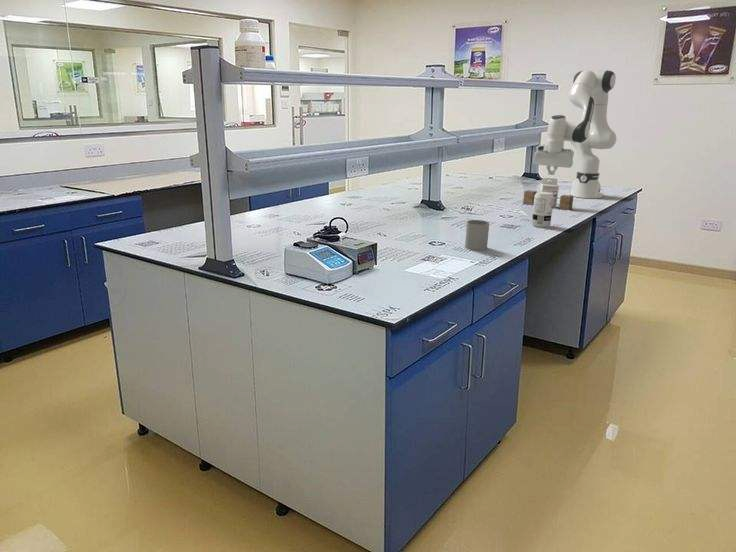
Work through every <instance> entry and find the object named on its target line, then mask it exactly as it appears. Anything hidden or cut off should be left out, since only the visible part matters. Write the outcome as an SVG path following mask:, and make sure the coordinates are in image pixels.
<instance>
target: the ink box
mask: <svg viewBox="0 0 736 552" xmlns="http://www.w3.org/2000/svg"><path fill="white" fill-rule="evenodd" d="M540 183H541V184H540V189H539V192H550V193H553V196H554V200H553V207H552V208H557V203H558V194H559V185H558V178H551V177H550V178H549V177H546V178H545V177H542V178H541V182H540Z"/></svg>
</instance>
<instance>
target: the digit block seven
mask: <svg viewBox="0 0 736 552" xmlns="http://www.w3.org/2000/svg"><path fill="white" fill-rule="evenodd" d="M537 192H538V191H537V190H530V189H527V190H525V191H524V193H523V203H522V204H523V205H527V206H534V197H535V194H536V193H537Z"/></svg>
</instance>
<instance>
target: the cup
mask: <svg viewBox="0 0 736 552" xmlns="http://www.w3.org/2000/svg"><path fill="white" fill-rule="evenodd" d="M465 228H466V230H465V239H464V240H465V241H464V249H466V250H470V251H474V252H475V251H476V252H478V251H479V252H483V251H486V250H487V249H488V242H489V232H490V222H489V221H486V220H481V219H480V220H479V219H470V220H467V221H466V227H465Z"/></svg>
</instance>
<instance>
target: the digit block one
mask: <svg viewBox="0 0 736 552" xmlns="http://www.w3.org/2000/svg"><path fill="white" fill-rule="evenodd" d="M574 197H575V196H572V195H569V194H567V195H566V194H563V195H560V199H559V205H558V210H560V209H561V210H563V211H567V210H569V211H572V209H573V203H574Z"/></svg>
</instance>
